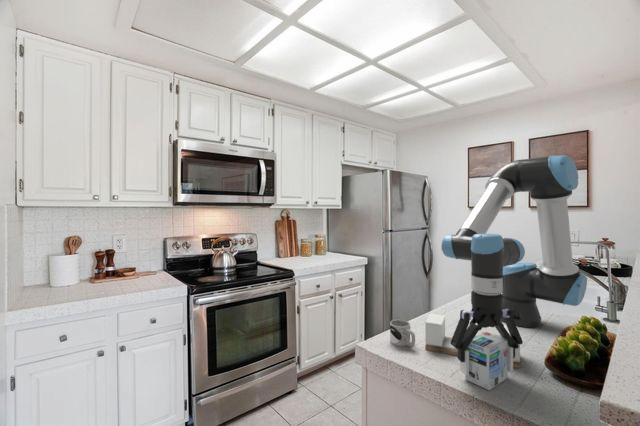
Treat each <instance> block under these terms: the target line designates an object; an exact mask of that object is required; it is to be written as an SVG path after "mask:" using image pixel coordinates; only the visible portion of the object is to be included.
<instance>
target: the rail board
mask: <svg viewBox="0 0 640 426" xmlns="http://www.w3.org/2000/svg"><path fill="white" fill-rule="evenodd" d="M451 340H452V337H449V336H445V338H444V341H443V345H442V346H437V345H432V344H426V343H425V351H426V350H427V351H431V352H435V353H442V354H447V355H450V356H456V357H458V349H456V348H455V347H454V346H452V345H451ZM513 368H516V369H521V360H520V361H515V360H513Z"/></svg>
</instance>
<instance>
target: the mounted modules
mask: <svg viewBox="0 0 640 426" xmlns="http://www.w3.org/2000/svg"><path fill="white" fill-rule="evenodd" d="M502 324H503V325H504V327H505V329H506V330H507V332H508V333H509V330H508V328H507V325H506V324H505V323H502ZM518 327H519V326H517V329H518V330H519V328H518ZM509 334H510V333H509ZM498 336H500V337H502V336H501V334H500V333H499V332H498ZM510 336H511V335H510ZM445 337H446V316H445V315H443V314H437V313H436V314H435V313H429V315H428V317H427V318H426V321H425V345H426V344H432V345H437V346H442V345H443V341H444V338H445ZM518 345H519V347H518V348H517V349H516V348H515V358H513V360H515V361H520V362H521V345H520V344H518Z"/></svg>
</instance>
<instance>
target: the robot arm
mask: <svg viewBox="0 0 640 426" xmlns="http://www.w3.org/2000/svg"><path fill="white" fill-rule="evenodd" d="M578 185H579V173H578V167H577V166H576V163H575V162H574V160H573V159H572V158H571V157H570V156H568V155H565V154H561V155H549V156H547V155H546V156H541V157H531V158H526V159H524V158H522V159H517V160H514V161H510V162H509V163H507V164H505V165H504V166H502V167H501V168H499V169H497V171H495V172H494V173H493V174H492V175H491V176H490V178H489V179H488V180H487V182H486V183H485V185H484V187H485V190H484V191H483V193H482V194H481V195H480V197H479V199H478V200H477V201H476V203H475V205H474V206H473V208H472V210H471V211H470V212H469V214H468V216H467V217H466V219H465V220H464V222H463V223H462V224H461V226H460V227H459V229H458V231H456V233H455V234H447V235H445V236H444V237H443V238H442V240H441V246H440V247H441V248H440V249H441V251H442V254H443V255H444V256H445V257H447V258H451V259H456V260H461V261H462V260H463V261H471V265H470V267H471V271H470V272H471V274H470V275H471V276H470V277H471V278H470V289H471V292H470V298H471V299H470V302H471V303H470V305H471V307H472V308H471V310H470V311H466V310H464V309H461V310H460V313H459V320H458V323H457V325H456V326H455V327H456V328H455V330H454V332H453V335H452V337H451V338H452V340H451V345H452V346H454V347H455V348H456V349H458V356H457V359H458V361H459V363H460V364H459V365H460V366H459V369H460V372H462V374H463V375H464V376H465V375H466V376H469V351H468V350H467V347H468V346H469V344H470V343H471V341H472V340H473V338H474V337H475V335H477V334H478V333H479V331H482V329H483V328H484V329H486V328H489V327H490V328H495V329H496V330H497V331H498V334H499V333H500V334H501V336H502V337H504V338H505V339H507V341H508V372H509V373H514V367H513V358H515V348H516V349H517V348H518V347H519V345H518V344H520V346H521V345H523V342H524V341H523V339H522V337H521V334H520V331H519V328H518V329H517V327H522V328H537V327H538V328H539V327H540V326H541V325H542V316H541V313H540V311H539V308H538V305H537V299H538V300H542V301H546V302H550V303H551V302H552V303H556V304H562V305H567V306H572V307H576V306H579V305H580V304H581V303H582V302H583V300H584V298H585V295H586V291H587V287H588V286H587V285H588V278H587V274H584V273H580V267H579V266H578V265H577V264H575V263H574V261H573V249H572V241H571V231H570V230H571V228H570V218H569V207H568V199H569V198H570V197H571V196H572V194H573V191H574V190H576V189H577V188H578ZM519 192H521V193H523V192H525V193H528V192H529V193H530V195H529V196H530V199H532V200H533V201H535V202H536V203H535V204H536V211H537V219H538V229H539V238H540V246H541V253H542V255H541V256H542V263H540V264H539V266H537V263H532V262H521V261H522V260H523V258H524V257H525V255H526V249H525V247H524V244H523V243H522V242H521V241H520V240H518V239H516V238H512V237H511V238H510V237H504V238H503V237H502V236H503V235H501V234H497V233H487V232H488V230H489V229H490V227H491V226H492V224H493V223H494V221H495V219H496V217H497V216H498V215H499V212H500V211H501V209H502V208H503V206H504V205H505V202H506V201H507V200H509V199H510V198H512V197H513V195H514V194H516V193H519ZM503 324H504V325H507V328H508V330H509V333H510V334H509V333H508V332H507V330H506V329H505V327H504V325H503ZM510 335H511V336H510Z"/></svg>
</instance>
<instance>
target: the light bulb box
mask: <svg viewBox="0 0 640 426" xmlns="http://www.w3.org/2000/svg"><path fill="white" fill-rule="evenodd" d="M467 350H468V351H469V376H466V375H465V374H464V380H465V381H468V382H470V383H472V384H475V385H477V386H479V387H480V388H483V389H484V390H485V389H486V390H487V391H491V390H493V388H495V387H496V386H498V385H500V383H502V382H504V381H505V380H507V379H508V376H509V373H508V372H509V371H508V341H507V339H505V338H504V337H500V336H499V335H497V334H494V333H491V332H488V331H485V330H484V331H482V332H480V333H479V332H478V333H477V334H476V335H475V337H474V338H473V340H472V341H471V343H470V344H469V346H468V347H467Z"/></svg>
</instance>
